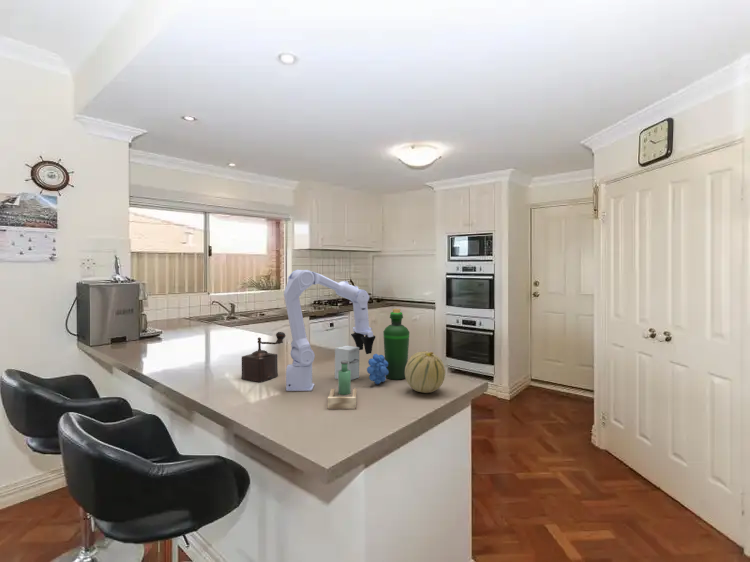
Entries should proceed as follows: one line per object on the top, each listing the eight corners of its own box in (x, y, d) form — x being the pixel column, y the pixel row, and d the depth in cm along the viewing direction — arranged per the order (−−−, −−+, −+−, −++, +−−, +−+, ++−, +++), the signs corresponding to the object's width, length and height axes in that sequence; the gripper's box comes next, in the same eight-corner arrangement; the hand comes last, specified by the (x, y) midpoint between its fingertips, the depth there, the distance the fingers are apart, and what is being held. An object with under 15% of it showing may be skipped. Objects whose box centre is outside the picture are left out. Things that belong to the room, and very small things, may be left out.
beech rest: (327, 408, 130) (327, 398, 129) (331, 395, 143) (331, 385, 143) (355, 408, 130) (355, 397, 130) (356, 395, 143) (356, 385, 143)
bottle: (409, 374, 171) (409, 308, 170) (409, 381, 160) (409, 310, 159) (384, 373, 172) (384, 307, 171) (382, 380, 161) (382, 310, 160)
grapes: (376, 389, 149) (376, 357, 149) (363, 386, 154) (363, 354, 154) (396, 383, 158) (396, 352, 158) (383, 379, 163) (383, 350, 162)
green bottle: (337, 394, 144) (337, 363, 143) (338, 391, 148) (338, 360, 148) (350, 394, 144) (350, 362, 143) (350, 391, 148) (350, 360, 148)
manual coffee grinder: (261, 383, 158) (260, 337, 157) (240, 379, 163) (240, 334, 162) (287, 373, 171) (287, 331, 171) (268, 370, 177) (267, 329, 176)
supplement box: (348, 381, 160) (348, 350, 159) (334, 378, 164) (334, 347, 164) (360, 377, 166) (360, 347, 165) (346, 374, 170) (346, 344, 170)
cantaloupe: (410, 384, 157) (411, 345, 156) (448, 388, 152) (449, 348, 151) (399, 395, 143) (399, 353, 143) (440, 400, 138) (440, 356, 137)
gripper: (378, 319, 159) (381, 353, 160) (362, 315, 172) (365, 346, 173) (362, 322, 155) (365, 356, 157) (347, 317, 168) (350, 349, 169)
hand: (364, 351), depth 165 cm, fingers open, 7 cm apart
